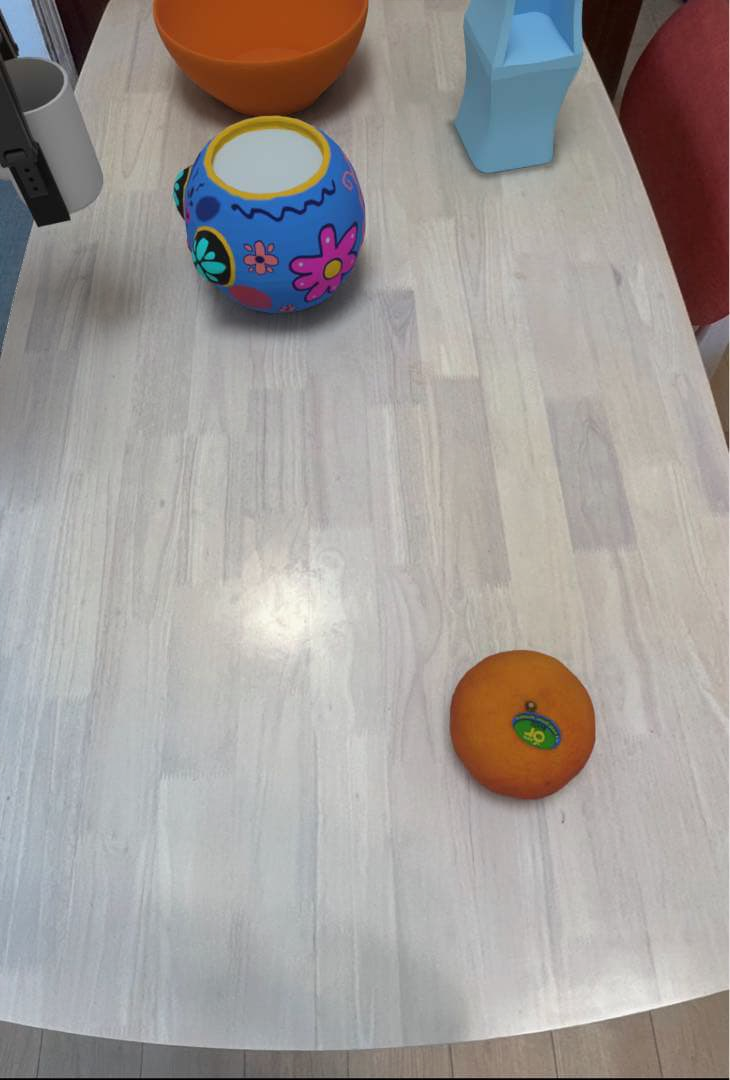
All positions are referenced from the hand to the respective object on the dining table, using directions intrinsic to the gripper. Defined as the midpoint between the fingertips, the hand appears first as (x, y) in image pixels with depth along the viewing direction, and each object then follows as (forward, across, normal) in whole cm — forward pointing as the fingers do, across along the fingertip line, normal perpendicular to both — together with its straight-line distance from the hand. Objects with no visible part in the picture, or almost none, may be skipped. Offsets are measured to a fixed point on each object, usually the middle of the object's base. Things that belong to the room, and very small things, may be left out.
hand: (48, 189), depth 64 cm
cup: (0, 0, 0) cm, 1 cm away
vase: (+16, +14, -50) cm, 54 cm away
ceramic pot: (+16, 0, -19) cm, 25 cm away
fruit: (+16, -52, -24) cm, 59 cm away
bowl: (+16, +34, -26) cm, 46 cm away
